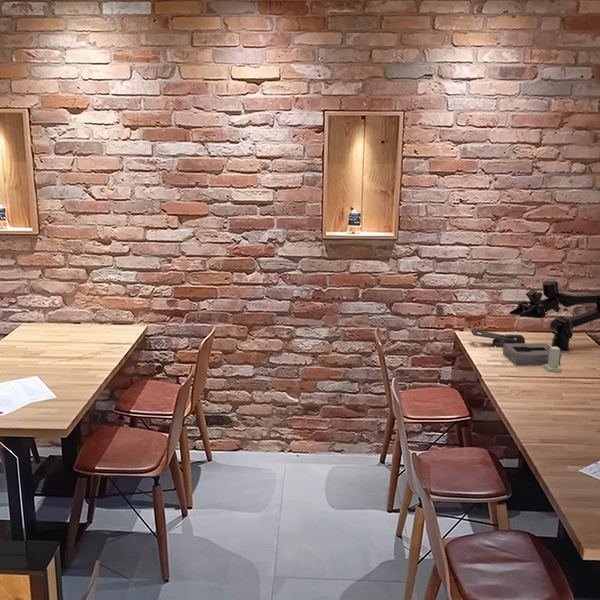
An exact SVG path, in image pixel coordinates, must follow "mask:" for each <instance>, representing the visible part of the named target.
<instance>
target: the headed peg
mask: <svg viewBox="0 0 600 600" xmlns="http://www.w3.org/2000/svg"><path fill="white" fill-rule="evenodd" d="M560 352H561V351H560V349H559V348H558V347H551V346H550V349H549V358H548V365H543V369H545V370H546V371H547V372H548V373H562V368H561V366H560V365H558V363H559V355H560V354H561V353H560Z"/></svg>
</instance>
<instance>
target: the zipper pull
mask: <svg viewBox="0 0 600 600" xmlns="http://www.w3.org/2000/svg"><path fill="white" fill-rule="evenodd" d="M470 331H471V334H472V335H473V336H474V337H483V338H487V339H488V338H489V339H492V340H491V342H492V343H491V345H492V344H493V345H492V346H493V347H495V346H496V347H495V348H498V347H502V348H501V349H503V345H504V344H520V343H526V340H525V336H523V335H522V334H501V333H500V334H499V333H495V332H489V331H484V330H480V329H474V328H472V329H471V330H470Z"/></svg>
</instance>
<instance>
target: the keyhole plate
mask: <svg viewBox="0 0 600 600" xmlns="http://www.w3.org/2000/svg"><path fill="white" fill-rule="evenodd" d="M550 347H551V345H549V344H547V343H543V342H542V343H540V342H538V343H535V342H534V343H531V342H530V343H526V342H525V343H520V344H504V345H503V348H502V354H503V355H504V357H506V358H507V359H508V360H509V361H510V362H511V361H512V362H511V363H512V364H514V365H515V366H544V365H548V358H549V349H550ZM561 359H562V355H561V353H560V355H559V363H558V366H560V365H561Z"/></svg>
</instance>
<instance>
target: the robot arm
mask: <svg viewBox="0 0 600 600" xmlns="http://www.w3.org/2000/svg"><path fill="white" fill-rule="evenodd" d="M541 284H542V291H541V292H540V291H538V290H536V289H530V290H528V291H527V292H525V295H526V297H527V298H528V300H529V301H528V302H527V301H525V300H520V301H518V302H517V306H516V307H515V308H514V309H512V310H510V312H509V315H512V316H513V315H514V316H519V317H523V318H533V319H543V318H545V317H546V316H547V313H548V312H549V311H553V312H554V313H555V312H556V313H559V312H560V310H561V306H562V307H564V308H569V307H573V306H575V305H579V304H583V305H584V304H595V306H596V307H595V308H594V309H592V310H589V311H587V312H586V311H585V312H584V313H581V314H578V315H575V316H572V317H569V318H567V317H565V316H562V315H561V316H559V317H557V318H556V317H555V318H554V319H553V320H552V321H551V322H550V325H549V329H550V330H551V333H552V334H553V337H552V339H551V340H552V341H551V345H550V347H558V348H559V349H560V352H562V351H571V349H570V348H569V346H570V345H569V343H570V339H572V338H573V336H574V334H573V333H572V330H573V329H574V328H576V327H580V326H583V325H585V324H588V323H591V322H593V321H595V320H596V321H597V320H600V293H599V292H596V293H583V294H582V293H579V294H577V293H576V294H573V293H569V292H563V291H560V292H559V285H558V281H557V280H548V281H547V280H545V281H543V282H542V283H541ZM543 296H545V298H544V299H542V297H543Z"/></svg>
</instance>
